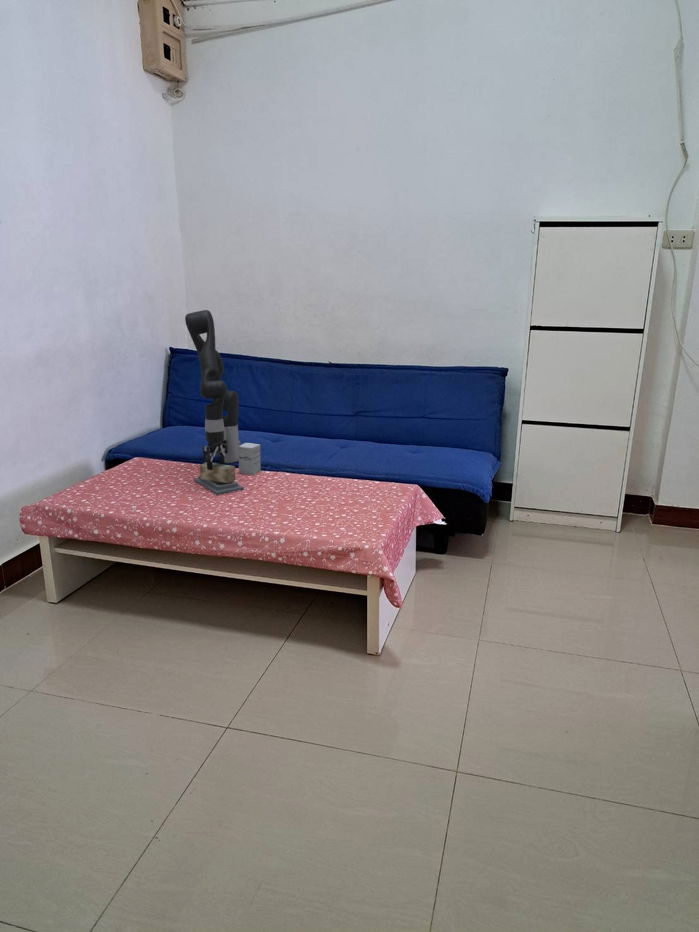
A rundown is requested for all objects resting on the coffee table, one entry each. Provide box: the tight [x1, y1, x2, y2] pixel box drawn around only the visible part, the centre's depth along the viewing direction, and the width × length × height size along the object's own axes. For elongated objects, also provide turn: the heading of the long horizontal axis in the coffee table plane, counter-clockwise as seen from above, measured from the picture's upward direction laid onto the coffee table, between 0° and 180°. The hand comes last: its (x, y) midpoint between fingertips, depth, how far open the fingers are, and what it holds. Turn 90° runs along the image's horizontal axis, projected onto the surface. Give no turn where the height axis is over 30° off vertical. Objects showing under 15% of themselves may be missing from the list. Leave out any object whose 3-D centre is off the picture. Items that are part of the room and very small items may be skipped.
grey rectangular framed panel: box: [193, 475, 244, 496], centre depth 276 cm, size 22×12×3 cm, turn 37°
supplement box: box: [238, 442, 262, 476], centre depth 293 cm, size 7×7×13 cm
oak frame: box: [199, 461, 236, 483], centre depth 275 cm, size 14×5×6 cm, turn 67°
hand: (216, 467), depth 274 cm, fingers open, 8 cm apart
